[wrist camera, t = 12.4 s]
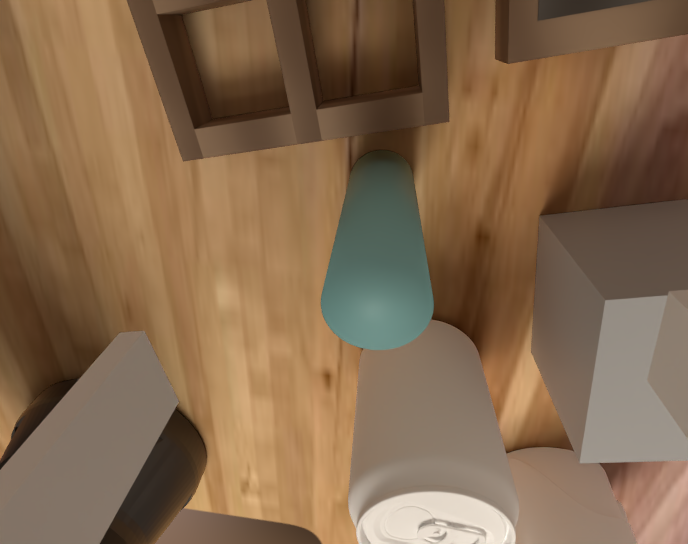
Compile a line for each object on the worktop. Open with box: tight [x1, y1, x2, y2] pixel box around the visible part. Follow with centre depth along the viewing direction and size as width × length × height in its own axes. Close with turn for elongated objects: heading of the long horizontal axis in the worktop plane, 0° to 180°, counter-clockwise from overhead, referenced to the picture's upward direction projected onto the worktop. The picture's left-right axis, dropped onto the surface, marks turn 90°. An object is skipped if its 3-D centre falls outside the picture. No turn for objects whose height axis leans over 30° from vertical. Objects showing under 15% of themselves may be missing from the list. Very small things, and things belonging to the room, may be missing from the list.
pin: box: [321, 150, 434, 350], centre depth 19 cm, size 4×4×12 cm
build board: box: [127, 0, 449, 161], centre depth 20 cm, size 13×8×2 cm, turn 99°
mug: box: [506, 447, 638, 544], centre depth 31 cm, size 12×9×8 cm
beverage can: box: [348, 320, 519, 544], centre depth 25 cm, size 8×8×12 cm
